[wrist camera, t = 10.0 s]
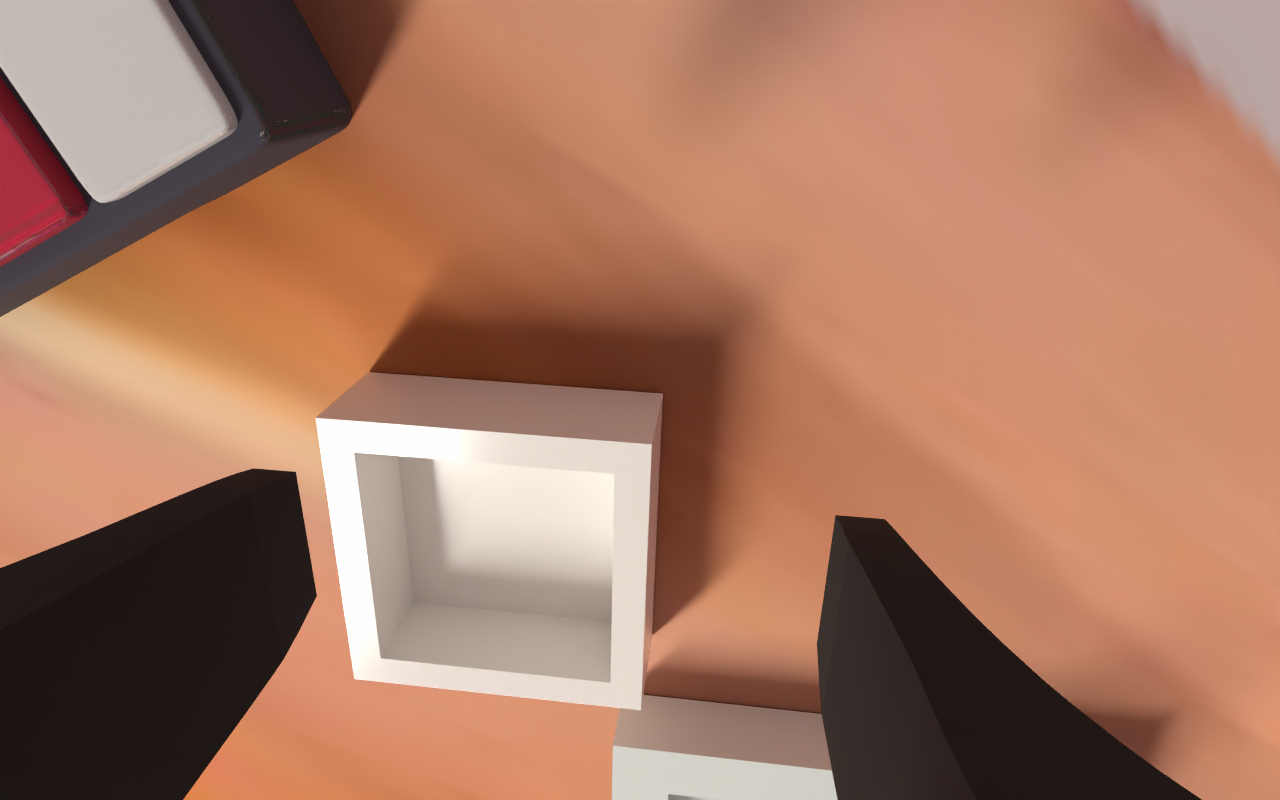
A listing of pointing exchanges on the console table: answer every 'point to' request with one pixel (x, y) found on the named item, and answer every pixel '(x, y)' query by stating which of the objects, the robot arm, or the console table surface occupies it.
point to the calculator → (142, 120)
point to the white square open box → (496, 534)
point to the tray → (719, 753)
